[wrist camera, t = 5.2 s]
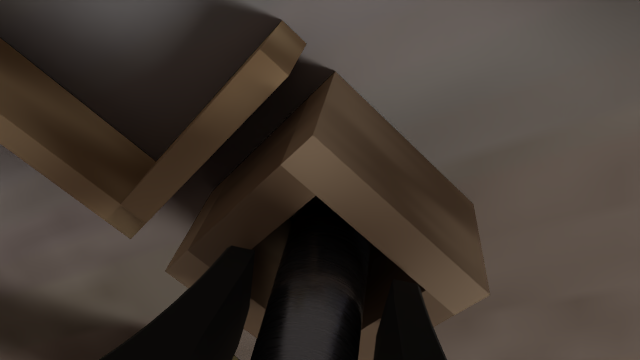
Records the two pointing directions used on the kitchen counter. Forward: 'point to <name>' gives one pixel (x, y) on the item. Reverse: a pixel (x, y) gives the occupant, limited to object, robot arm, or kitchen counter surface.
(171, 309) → the robot arm
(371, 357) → the walnut gauge block
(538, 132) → the kitchen counter surface
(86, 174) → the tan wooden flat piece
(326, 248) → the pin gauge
